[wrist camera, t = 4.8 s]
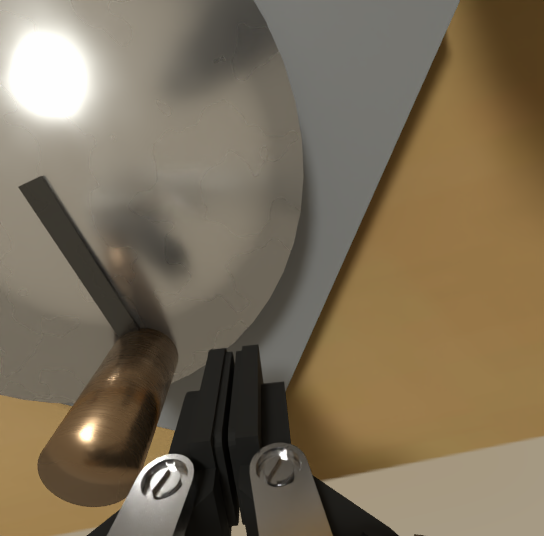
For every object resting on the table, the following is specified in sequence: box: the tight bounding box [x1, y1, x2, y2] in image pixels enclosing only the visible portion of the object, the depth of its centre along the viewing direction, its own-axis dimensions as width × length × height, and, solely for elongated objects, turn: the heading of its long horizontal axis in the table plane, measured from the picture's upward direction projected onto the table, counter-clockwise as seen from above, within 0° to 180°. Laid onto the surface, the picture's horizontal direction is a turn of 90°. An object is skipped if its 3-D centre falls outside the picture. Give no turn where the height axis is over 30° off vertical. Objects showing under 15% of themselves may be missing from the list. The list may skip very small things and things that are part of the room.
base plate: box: [62, 0, 460, 430], centre depth 14 cm, size 22×20×2 cm
